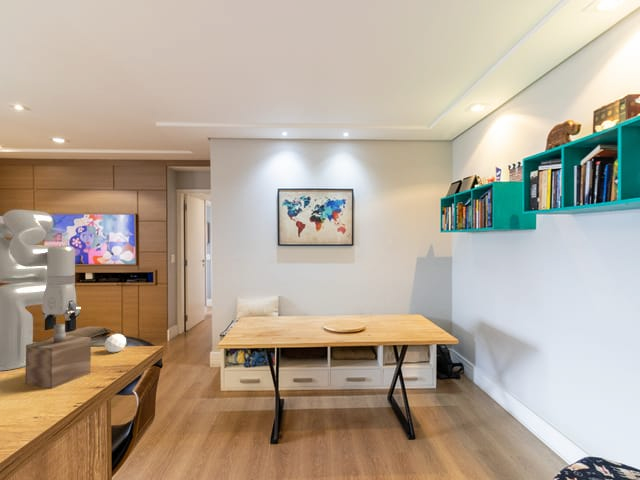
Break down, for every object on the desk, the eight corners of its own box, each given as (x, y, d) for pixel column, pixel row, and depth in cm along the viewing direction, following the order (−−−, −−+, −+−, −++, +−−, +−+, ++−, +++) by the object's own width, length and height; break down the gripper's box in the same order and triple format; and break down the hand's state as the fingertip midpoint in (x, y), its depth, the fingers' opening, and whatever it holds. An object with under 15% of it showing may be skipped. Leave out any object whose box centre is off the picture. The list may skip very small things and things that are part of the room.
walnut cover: (25, 383, 102) (26, 328, 102) (65, 369, 113) (66, 319, 114) (51, 388, 98) (52, 331, 98) (90, 373, 110) (91, 322, 110)
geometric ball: (110, 358, 132) (103, 342, 134) (130, 348, 137) (123, 332, 139) (107, 354, 126) (99, 337, 128) (128, 344, 131) (120, 328, 133)
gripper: (31, 281, 105) (30, 331, 105) (67, 283, 100) (66, 335, 100) (55, 279, 112) (54, 325, 112) (90, 280, 108) (89, 329, 107)
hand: (60, 330), depth 106 cm, fingers open, 9 cm apart
